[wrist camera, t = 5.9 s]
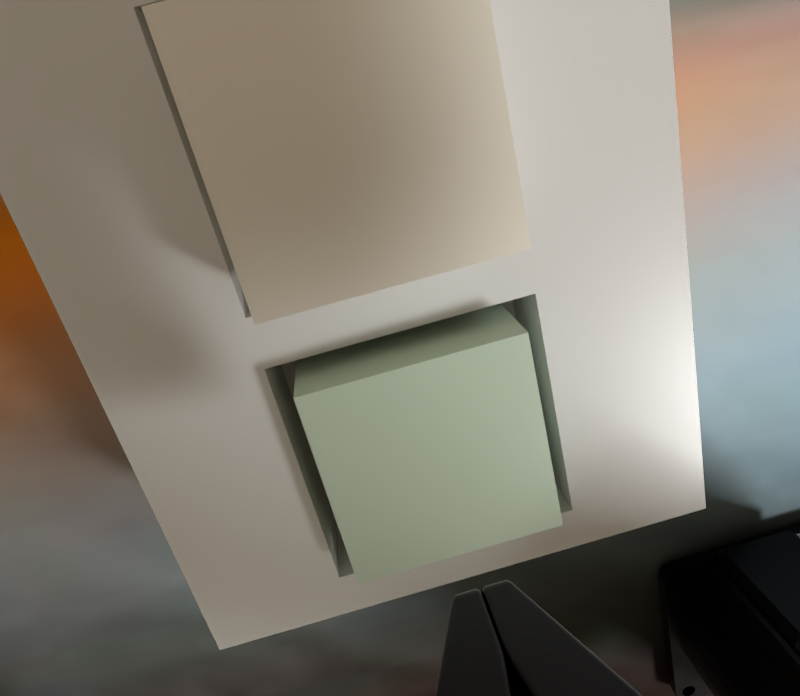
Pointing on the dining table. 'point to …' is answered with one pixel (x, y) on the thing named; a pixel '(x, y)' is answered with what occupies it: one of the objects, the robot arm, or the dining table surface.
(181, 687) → the dining table surface
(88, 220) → the keypad
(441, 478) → the key sage
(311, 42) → the key cream
